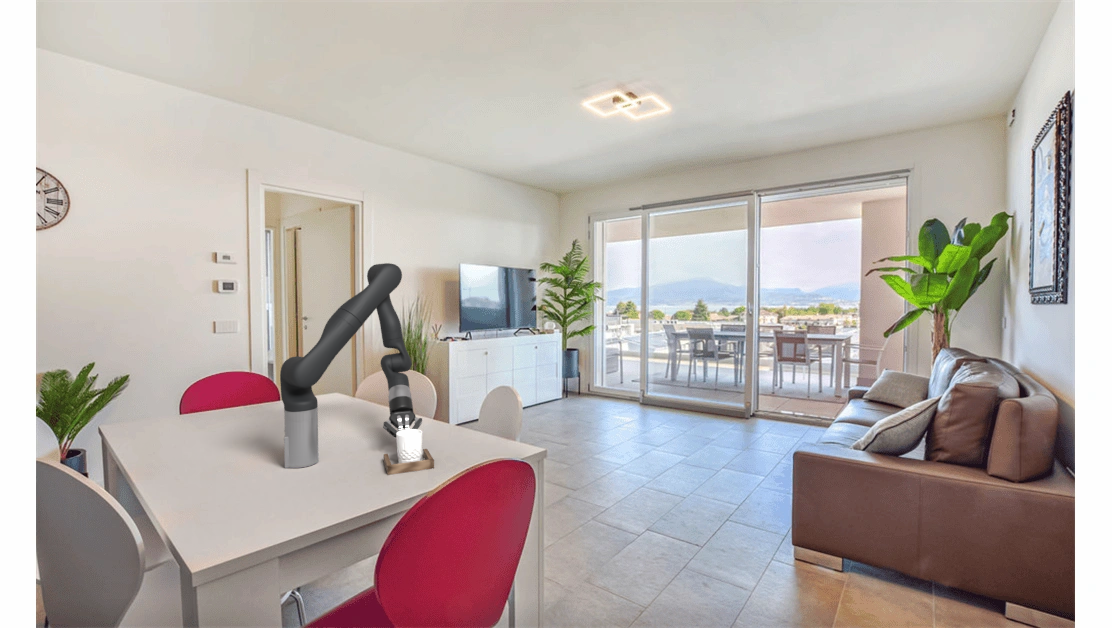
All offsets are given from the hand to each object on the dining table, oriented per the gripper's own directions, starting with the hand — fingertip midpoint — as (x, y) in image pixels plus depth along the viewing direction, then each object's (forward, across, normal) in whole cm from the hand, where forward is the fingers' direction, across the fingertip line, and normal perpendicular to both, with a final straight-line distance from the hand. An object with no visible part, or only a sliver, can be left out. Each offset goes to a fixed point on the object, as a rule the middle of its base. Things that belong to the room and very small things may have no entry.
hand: (405, 446), depth 158 cm
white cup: (+7, 0, -1) cm, 7 cm away
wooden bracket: (+7, 0, -1) cm, 7 cm away
